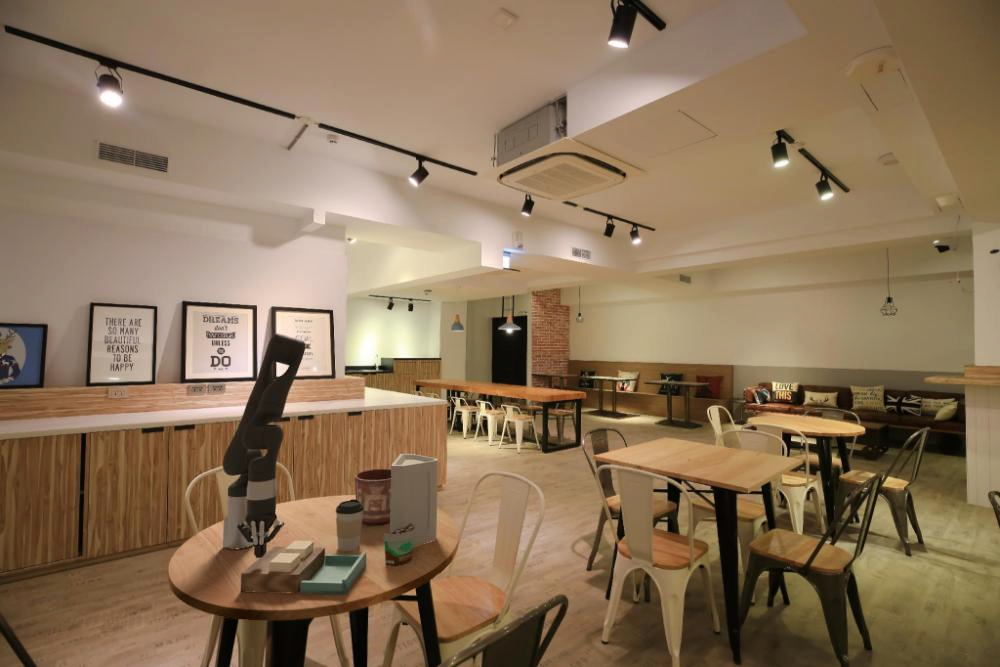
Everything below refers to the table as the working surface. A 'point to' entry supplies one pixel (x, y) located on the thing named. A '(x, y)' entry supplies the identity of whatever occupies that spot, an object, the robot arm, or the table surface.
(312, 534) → the table surface
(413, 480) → the white wifi router
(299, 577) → the walnut board
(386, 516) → the pottery
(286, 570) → the tile
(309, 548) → the tile
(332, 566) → the tray
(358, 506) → the coffee cup
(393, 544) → the food container
